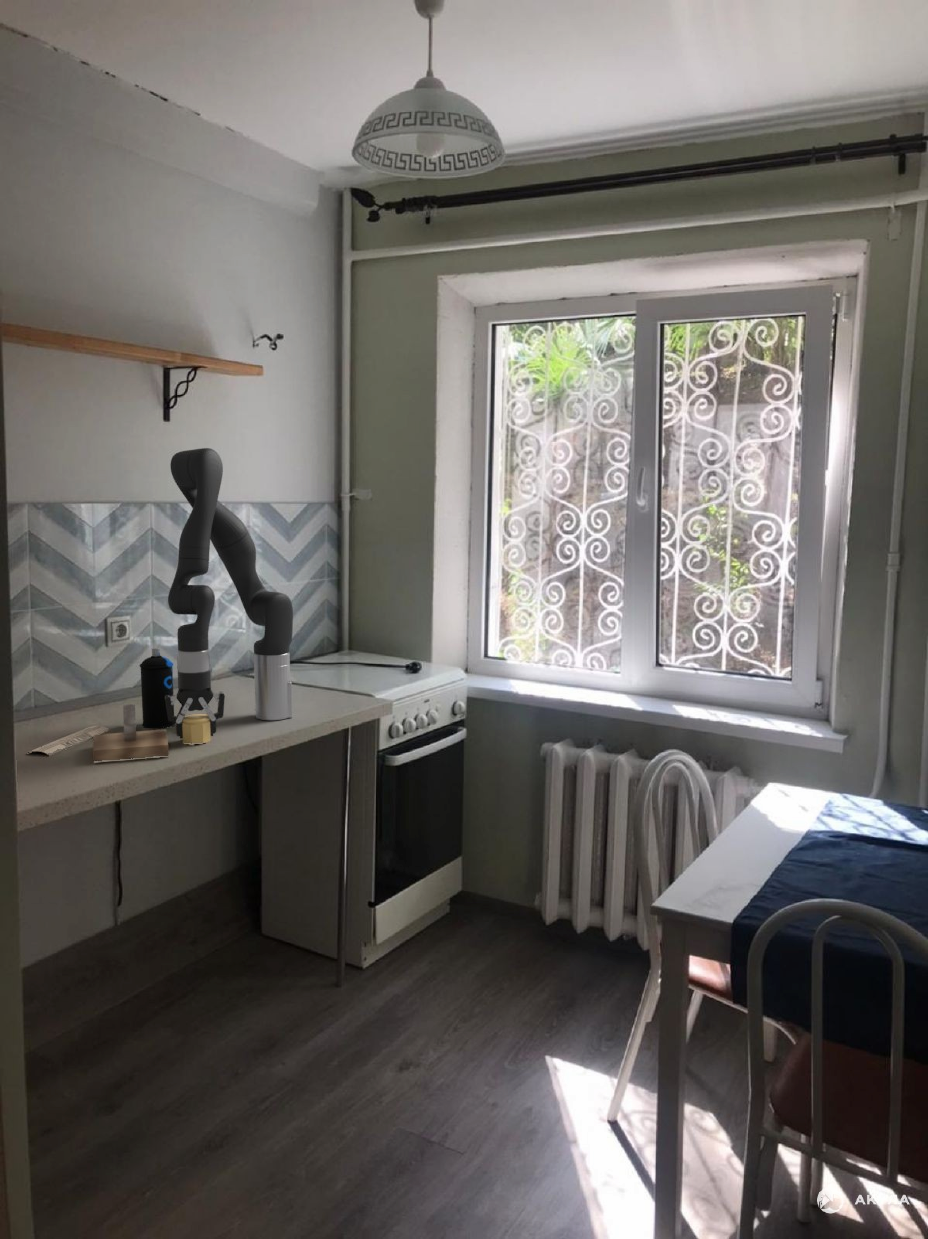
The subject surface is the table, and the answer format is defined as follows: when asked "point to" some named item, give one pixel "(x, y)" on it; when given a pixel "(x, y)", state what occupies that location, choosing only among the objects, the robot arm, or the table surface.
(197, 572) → the robot arm
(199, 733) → the cap
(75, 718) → the table surface
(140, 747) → the bolt base
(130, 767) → the table surface
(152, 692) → the aerosol can
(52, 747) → the newspaper
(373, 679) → the table surface
